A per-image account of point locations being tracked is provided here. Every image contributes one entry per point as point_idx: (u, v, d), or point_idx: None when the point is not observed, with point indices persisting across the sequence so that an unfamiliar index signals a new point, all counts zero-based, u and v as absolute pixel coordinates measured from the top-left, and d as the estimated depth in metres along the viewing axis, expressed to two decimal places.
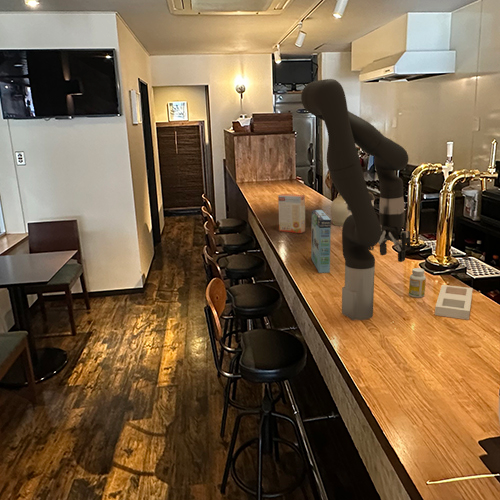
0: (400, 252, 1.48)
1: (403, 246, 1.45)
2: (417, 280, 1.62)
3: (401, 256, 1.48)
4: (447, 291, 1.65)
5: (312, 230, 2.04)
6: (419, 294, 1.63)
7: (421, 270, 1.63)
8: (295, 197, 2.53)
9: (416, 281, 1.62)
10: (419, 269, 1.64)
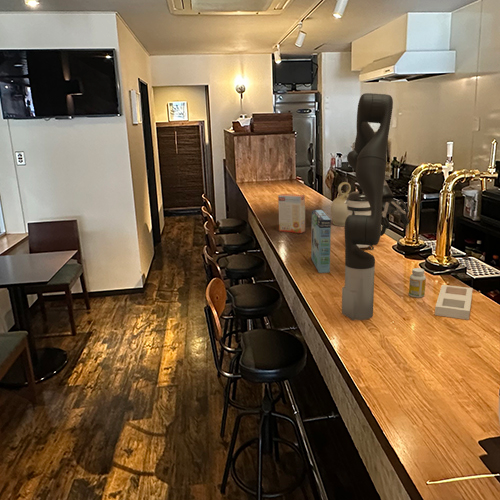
0: None
1: (406, 208, 1.73)
2: (417, 280, 1.62)
3: (407, 218, 1.72)
4: (447, 291, 1.65)
5: (312, 230, 2.04)
6: (419, 294, 1.63)
7: (421, 270, 1.63)
8: (295, 197, 2.53)
9: (416, 281, 1.62)
10: (419, 269, 1.64)
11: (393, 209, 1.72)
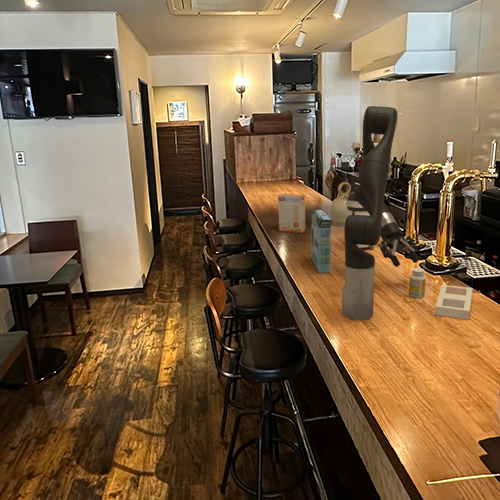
0: (413, 253, 1.70)
1: (415, 245, 1.72)
2: (417, 280, 1.62)
3: None
4: (447, 291, 1.65)
5: (312, 230, 2.04)
6: (419, 294, 1.63)
7: (421, 270, 1.63)
8: (295, 197, 2.53)
9: (416, 281, 1.62)
10: (419, 269, 1.64)
11: (402, 246, 1.70)
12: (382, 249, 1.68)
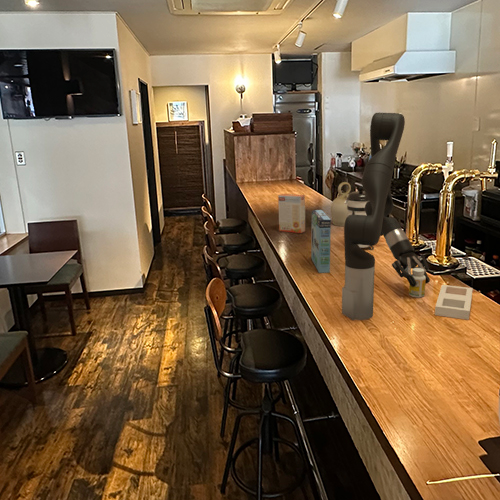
0: None
1: (426, 265, 1.67)
2: (417, 280, 1.62)
3: (427, 276, 1.65)
4: (447, 291, 1.65)
5: (312, 230, 2.04)
6: (419, 294, 1.63)
7: (421, 270, 1.63)
8: (295, 197, 2.53)
9: (416, 281, 1.62)
10: (419, 269, 1.64)
11: (413, 264, 1.65)
12: (397, 269, 1.64)
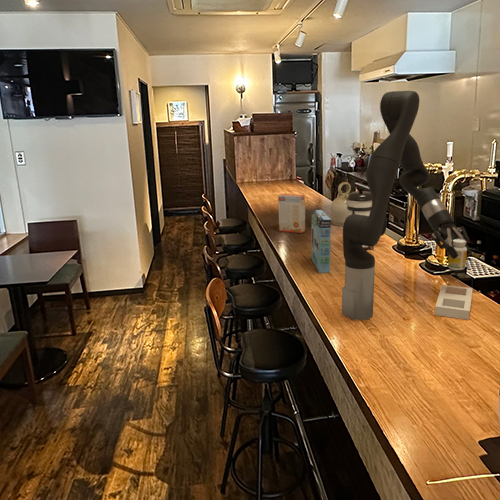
0: (465, 245, 1.58)
1: (467, 237, 1.59)
2: (459, 252, 1.54)
3: None
4: (447, 291, 1.65)
5: (312, 230, 2.04)
6: (459, 266, 1.55)
7: (462, 241, 1.55)
8: (295, 197, 2.53)
9: (458, 252, 1.54)
10: (460, 240, 1.56)
11: (453, 235, 1.58)
12: (437, 240, 1.56)
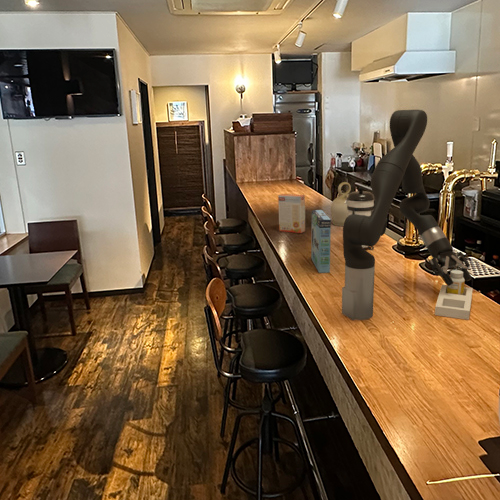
0: None
1: (467, 262, 1.62)
2: (456, 283, 1.57)
3: (468, 273, 1.60)
4: None
5: (312, 230, 2.04)
6: None
7: (460, 272, 1.58)
8: (295, 197, 2.53)
9: (455, 283, 1.57)
10: (458, 271, 1.59)
11: (454, 263, 1.60)
12: (433, 266, 1.59)
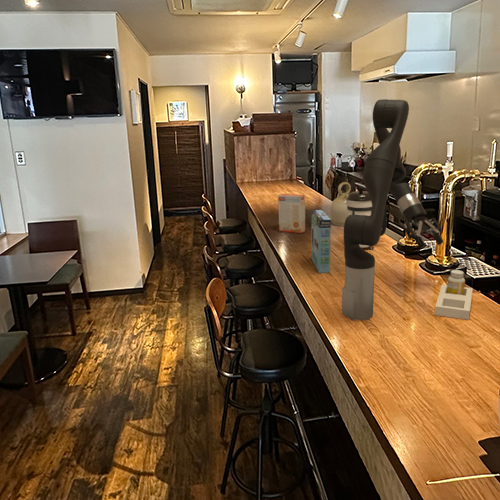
0: (438, 234, 1.69)
1: (439, 227, 1.71)
2: (456, 283, 1.57)
3: (440, 237, 1.69)
4: None
5: (312, 230, 2.04)
6: None
7: (460, 272, 1.58)
8: (295, 197, 2.53)
9: (455, 283, 1.57)
10: (458, 271, 1.59)
11: (427, 228, 1.69)
12: (407, 230, 1.67)
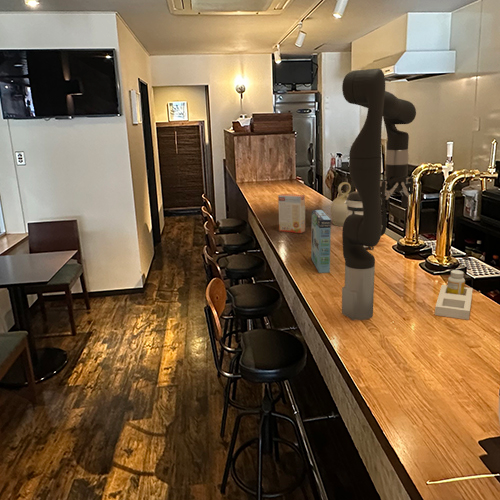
0: (406, 198, 1.67)
1: (411, 190, 1.66)
2: (456, 283, 1.57)
3: (406, 201, 1.67)
4: None
5: (312, 230, 2.04)
6: None
7: (460, 272, 1.58)
8: (295, 197, 2.53)
9: (455, 283, 1.57)
10: (458, 271, 1.59)
11: (399, 190, 1.64)
12: (379, 189, 1.62)
